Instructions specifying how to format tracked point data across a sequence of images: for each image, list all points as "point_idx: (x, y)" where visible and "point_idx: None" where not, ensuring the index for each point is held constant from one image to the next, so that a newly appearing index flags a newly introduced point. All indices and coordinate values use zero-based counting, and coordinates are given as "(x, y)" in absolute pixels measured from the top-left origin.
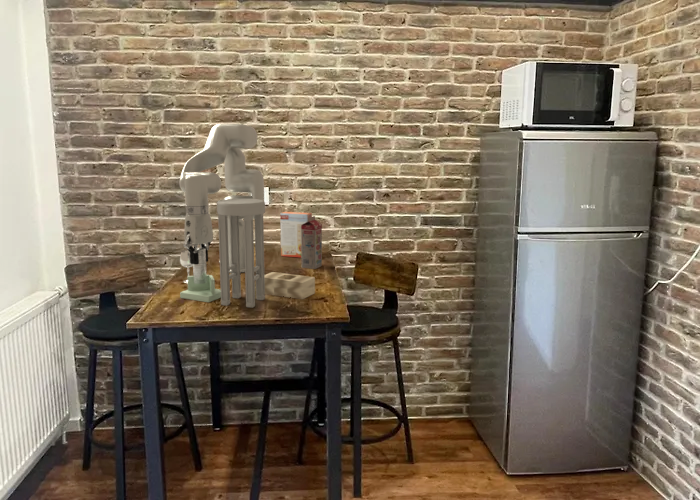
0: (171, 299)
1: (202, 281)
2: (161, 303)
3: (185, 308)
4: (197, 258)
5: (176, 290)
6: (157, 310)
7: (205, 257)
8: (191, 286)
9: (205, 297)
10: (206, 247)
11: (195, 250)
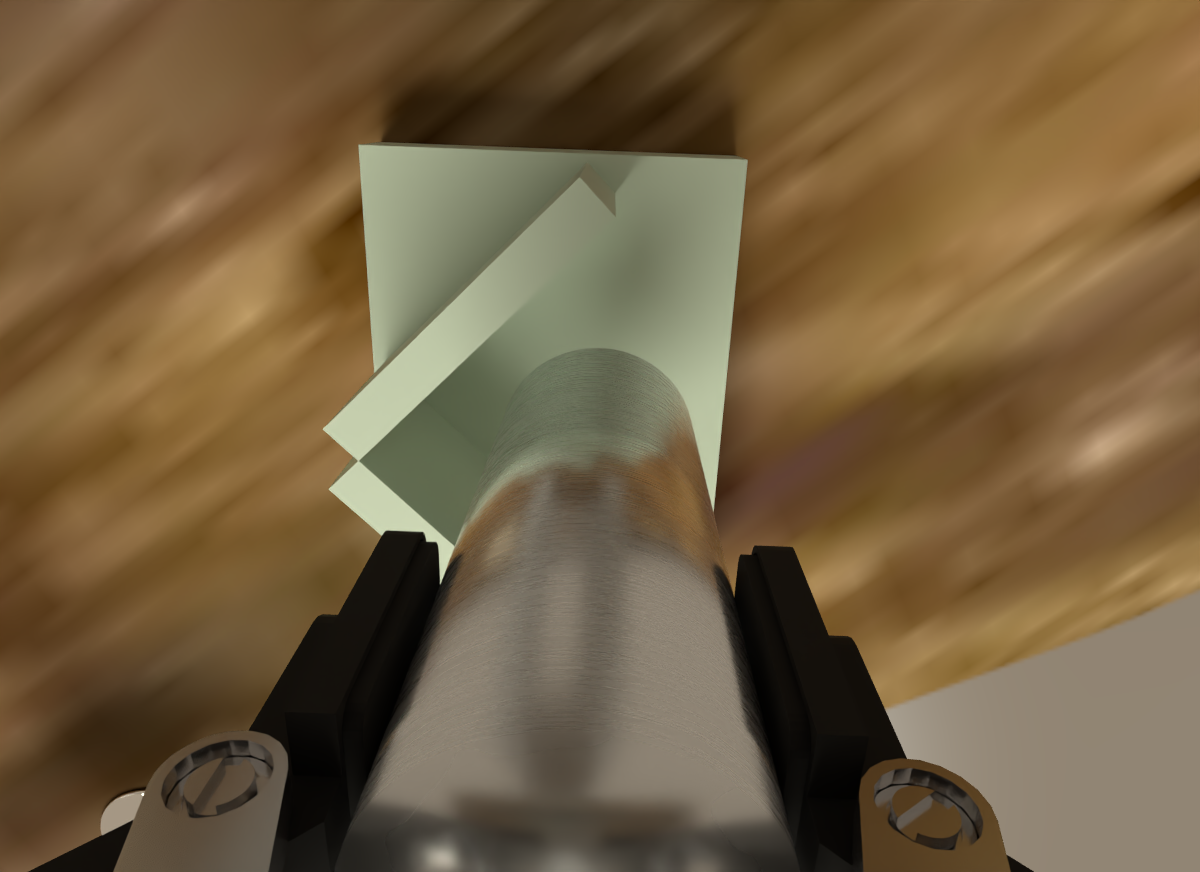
0: None
1: (652, 372)
2: (947, 597)
3: (1054, 256)
4: (817, 624)
5: None
6: (1193, 480)
7: (524, 557)
8: None
9: (740, 210)
10: (281, 821)
11: (916, 856)
